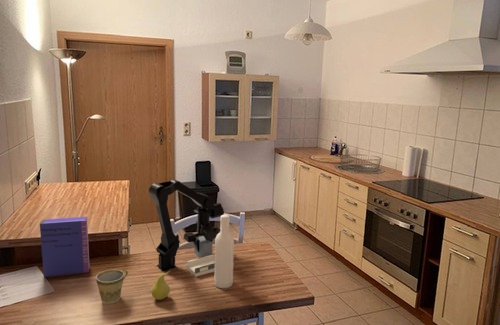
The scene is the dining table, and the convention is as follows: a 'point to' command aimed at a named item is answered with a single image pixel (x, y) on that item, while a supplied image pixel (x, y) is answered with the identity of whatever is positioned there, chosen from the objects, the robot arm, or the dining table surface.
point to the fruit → (160, 288)
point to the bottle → (224, 255)
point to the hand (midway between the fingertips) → (203, 250)
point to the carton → (203, 247)
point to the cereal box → (64, 246)
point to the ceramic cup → (110, 285)
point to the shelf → (202, 265)
